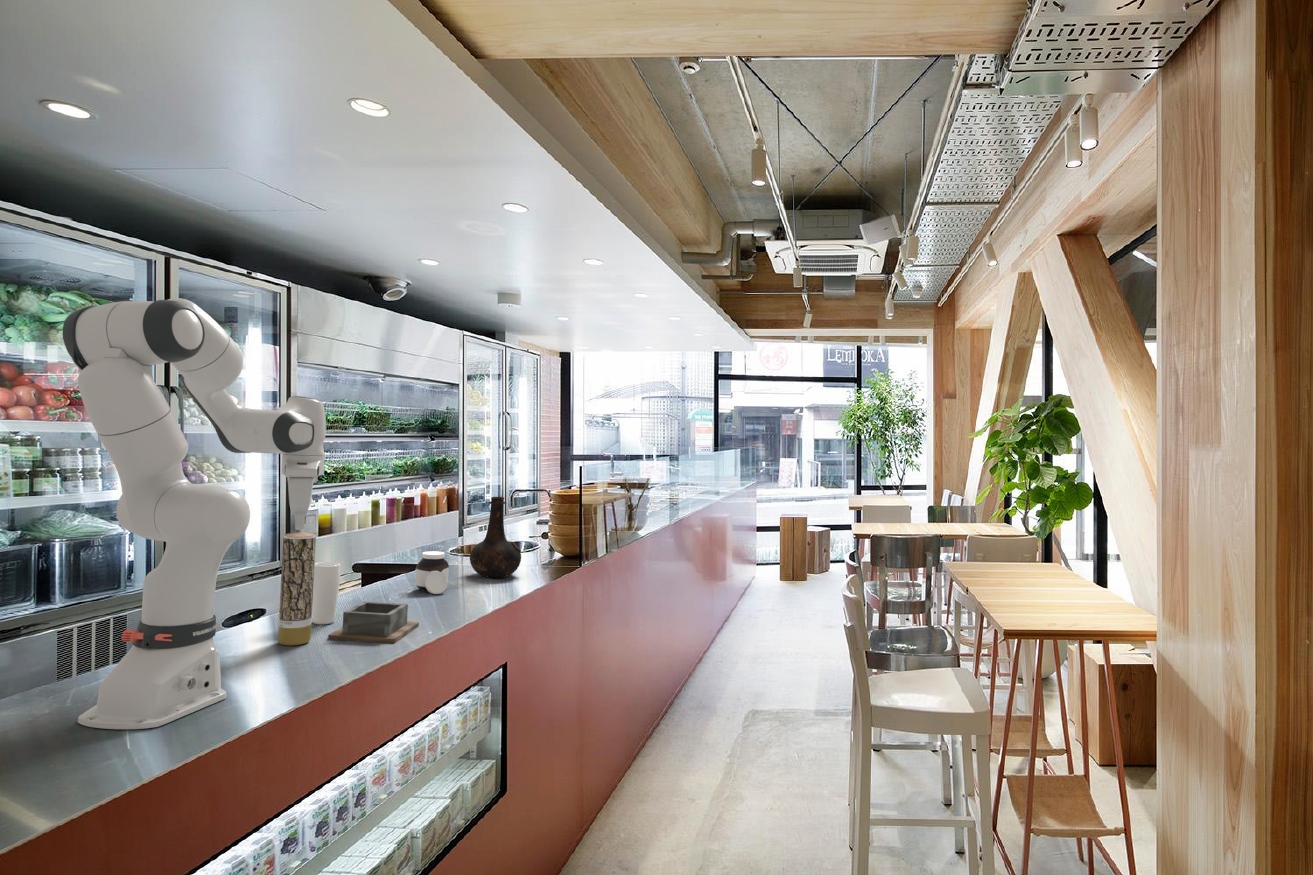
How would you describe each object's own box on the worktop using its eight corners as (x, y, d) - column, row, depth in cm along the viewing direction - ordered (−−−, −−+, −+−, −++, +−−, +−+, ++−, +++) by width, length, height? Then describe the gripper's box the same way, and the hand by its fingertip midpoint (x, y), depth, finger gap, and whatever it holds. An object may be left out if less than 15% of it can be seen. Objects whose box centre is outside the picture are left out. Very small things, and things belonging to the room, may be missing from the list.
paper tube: (297, 647, 165) (302, 537, 165) (271, 644, 166) (276, 535, 166) (316, 640, 172) (322, 534, 172) (291, 637, 173) (296, 531, 173)
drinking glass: (343, 621, 189) (346, 563, 189) (322, 627, 182) (325, 567, 182) (325, 617, 191) (328, 560, 191) (302, 623, 185) (306, 564, 185)
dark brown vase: (515, 581, 249) (519, 500, 249) (463, 579, 249) (467, 497, 249) (524, 572, 267) (528, 496, 267) (475, 569, 267) (479, 493, 267)
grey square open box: (394, 643, 172) (396, 617, 172) (328, 639, 173) (329, 613, 173) (418, 625, 188) (420, 602, 188) (357, 622, 189) (358, 599, 189)
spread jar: (433, 585, 237) (435, 549, 237) (460, 590, 232) (462, 553, 232) (406, 591, 227) (408, 554, 227) (433, 596, 222) (435, 558, 222)
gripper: (290, 464, 177) (288, 520, 177) (284, 469, 158) (282, 533, 158) (319, 464, 180) (317, 520, 180) (316, 470, 161) (314, 532, 161)
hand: (300, 526), depth 169 cm, fingers open, 8 cm apart
